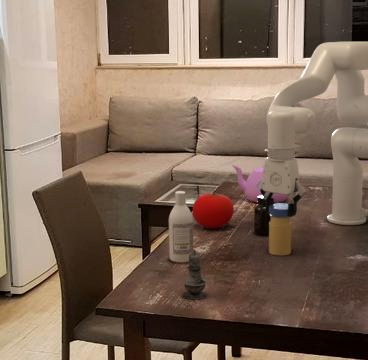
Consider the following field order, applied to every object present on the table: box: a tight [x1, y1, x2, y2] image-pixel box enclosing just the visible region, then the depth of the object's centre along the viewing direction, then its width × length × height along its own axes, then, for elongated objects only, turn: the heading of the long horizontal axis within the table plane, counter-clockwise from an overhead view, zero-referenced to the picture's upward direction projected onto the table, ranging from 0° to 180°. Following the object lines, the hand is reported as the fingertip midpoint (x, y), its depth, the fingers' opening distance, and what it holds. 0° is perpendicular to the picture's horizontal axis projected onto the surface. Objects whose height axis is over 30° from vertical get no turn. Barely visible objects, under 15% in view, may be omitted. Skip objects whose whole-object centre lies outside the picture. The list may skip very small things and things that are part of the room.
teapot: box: [231, 163, 288, 204], centre depth 282 cm, size 22×22×14 cm
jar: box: [268, 215, 292, 256], centre depth 218 cm, size 6×6×11 cm
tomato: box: [192, 192, 235, 230], centre depth 247 cm, size 13×14×12 cm
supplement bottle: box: [253, 196, 273, 237], centre depth 237 cm, size 7×7×12 cm
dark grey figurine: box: [182, 248, 207, 300], centre depth 185 cm, size 6×6×12 cm
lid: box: [269, 202, 289, 217], centre depth 217 cm, size 7×7×2 cm
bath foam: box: [168, 190, 194, 264], centre depth 213 cm, size 7×7×20 cm
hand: (280, 213), depth 217 cm, fingers closed on lid, 6 cm apart
